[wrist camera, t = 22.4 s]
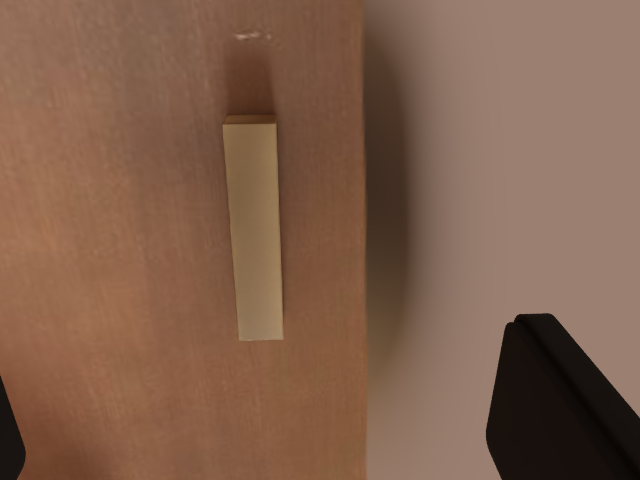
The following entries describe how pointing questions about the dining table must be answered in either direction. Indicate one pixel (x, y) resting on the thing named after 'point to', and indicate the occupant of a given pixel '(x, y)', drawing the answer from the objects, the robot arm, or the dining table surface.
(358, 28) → the dining table surface
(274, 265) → the stick
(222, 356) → the dining table surface
